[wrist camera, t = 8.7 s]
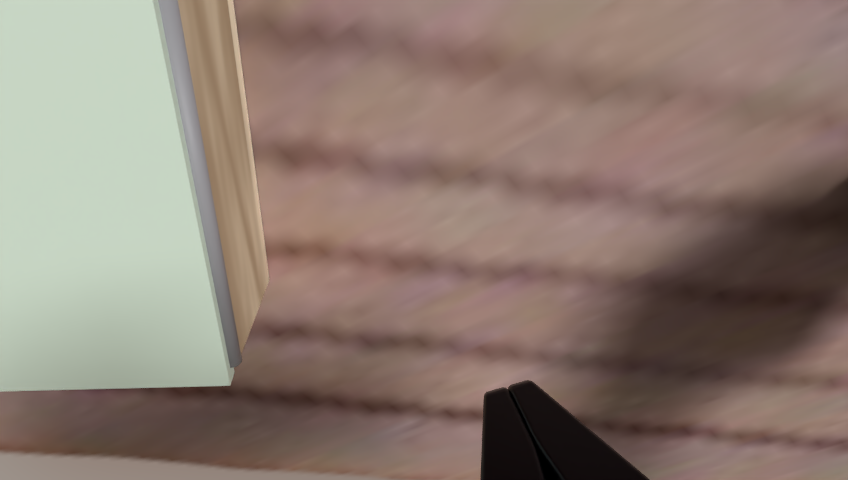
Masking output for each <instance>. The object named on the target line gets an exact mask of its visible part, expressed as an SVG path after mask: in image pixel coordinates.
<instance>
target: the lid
mask: <svg viewBox="0 0 848 480" xmlns="http://www.w3.org/2000/svg"><path fill="white" fill-rule="evenodd" d="M241 362H242V357H241V351H240V346H239V340H238V334H237V329H236V323H235V318H234V312H233V306H232V301H231V295H230V290H229V284H228V278H227V273H226V267H225V262H224V256H223V251H222V245H221V239H220V234H219V228H218V223H217V217H216V211H215V206H214V200H213V195H212V189H211V183H210V178H209V172H208V167H207V161H206V156H205V150H204V144H203V139H202V133H201V128H200V122H199V116H198V111H197V105H196V100H195V94H194V88H193V83H192V77H191V72H190V66H189V61H188V55H187V49H186V44H185V38H184V33H183V27H182V21H181V16H180V10H179V5H178V0H0V391H40V390H80V389H120V388H160V387H199V386H230V385H231V382H232V379H233V376H234V373H235V372H234V367H236V366H238V365H239V364H240V363H241Z"/></svg>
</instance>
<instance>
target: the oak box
mask: <svg viewBox="0 0 848 480" xmlns="http://www.w3.org/2000/svg"><path fill="white" fill-rule="evenodd" d="M178 5H179V10H180V16H181V21H182V27H183V33H184V38H185V44H186V49H187V55H188V61H189V66H190V72H191V77H192V83H193V88H194V94H195V100H196V105H197V111H198V116H199V122H200V128H201V133H202V139H203V144H204V150H205V156H206V161H207V167H208V172H209V178H210V183H211V189H212V195H213V200H214V206H215V211H216V217H217V223H218V228H219V234H220V239H221V245H222V251H223V256H224V262H225V267H226V273H227V278H228V284H229V290H230V295H231V301H232V306H233V312H234V318H235V323H236V329H237V334H238V340H239V346H240V351H241V354H242V351H243V349H244V346H245V343H246V341H247V338H248V335H249V333H250V330H251V327H252V325H253V322H254V320H255V317H256V314H257V312H258V309H259V306H260V304H261V301H262V298H263V296H264V293H265V290H266V288H267V285H268V282H269V273H268V265H267V257H266V250H265V242H264V234H263V226H262V219H261V211H260V203H259V196H258V188H257V180H256V173H255V165H254V157H253V149H252V142H251V134H250V126H249V119H248V111H247V103H246V96H245V88H244V80H243V72H242V65H241V57H240V49H239V42H238V34H237V26H236V18H235V11H234V3H233V0H178Z"/></svg>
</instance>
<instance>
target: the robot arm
mask: <svg viewBox="0 0 848 480" xmlns="http://www.w3.org/2000/svg"><path fill="white" fill-rule="evenodd" d="M481 480H649V479H648V478H647V477H646V476H645V475H643V474H642V473H641V472H640V471H639V470H637V469H636V468H635V467H634V466H633V465H631V464H630V463H629V462H628V461H627V460H626V459H624V458H623V457H622V456H621V455H620V454H618V453H617V452H616V451H615V450H614V449H612V448H611V447H610V446H609V445H608V444H606V443H605V442H604V441H603V440H602V439H600V438H599V437H598V436H597V435H596V434H595V433H593V432H592V431H591V430H590V429H589V428H587V427H586V426H585V425H584V424H583V423H581V422H580V421H579V420H578V419H577V418H575V417H574V416H573V415H572V414H571V413H569V412H568V411H567V410H566V409H565V408H564V407H562V406H561V405H560V404H559V403H558V402H556V401H555V400H554V399H553V398H552V397H550V396H549V395H548V394H547V393H546V392H544V391H543V390H542V389H541V388H540V387H538V386H537V385H536V384H535V383H534V382H532V381H529V380H526V381H522V382H519V383H516V384H512V385H510V386H509V387H508V389H507V388H505V387H502V388H499V389H495V390H492V391H489V392H486V393H485V395H484V406H483V431H482V457H481Z"/></svg>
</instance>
